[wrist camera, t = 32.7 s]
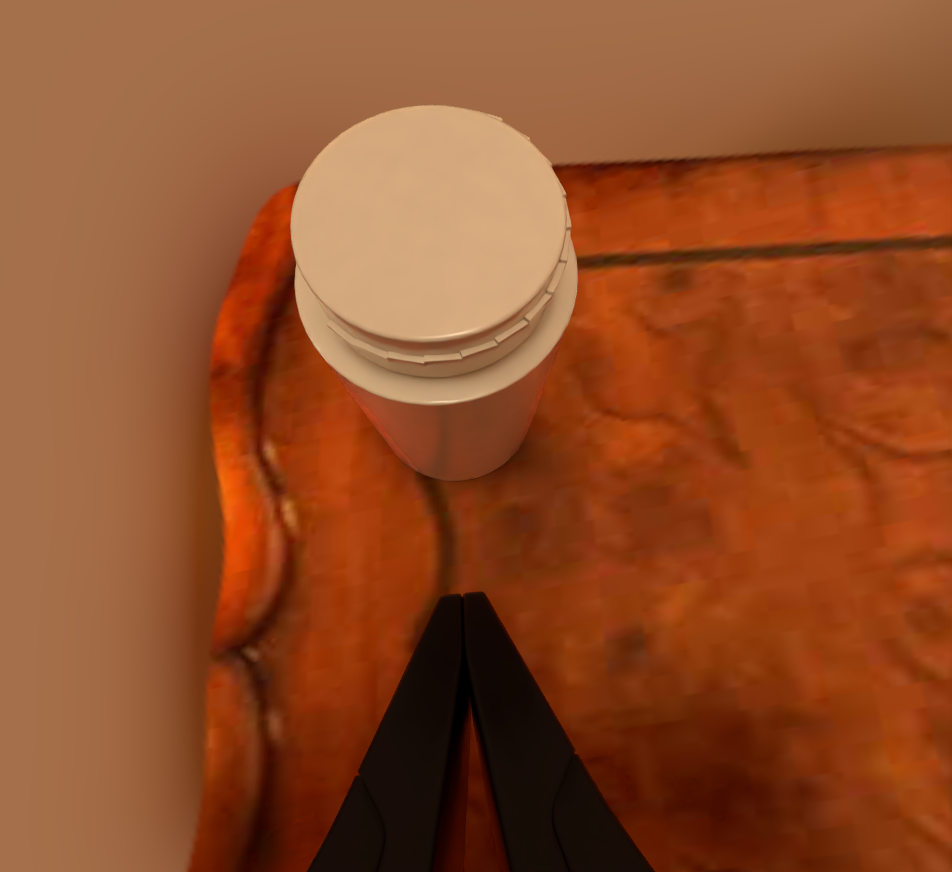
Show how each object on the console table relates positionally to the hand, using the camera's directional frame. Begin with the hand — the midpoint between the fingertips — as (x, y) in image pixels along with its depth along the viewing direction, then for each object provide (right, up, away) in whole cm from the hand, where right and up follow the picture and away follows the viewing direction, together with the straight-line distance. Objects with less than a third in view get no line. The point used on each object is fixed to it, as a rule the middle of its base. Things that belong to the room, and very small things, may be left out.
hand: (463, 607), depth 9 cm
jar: (0, +4, +9) cm, 10 cm away
